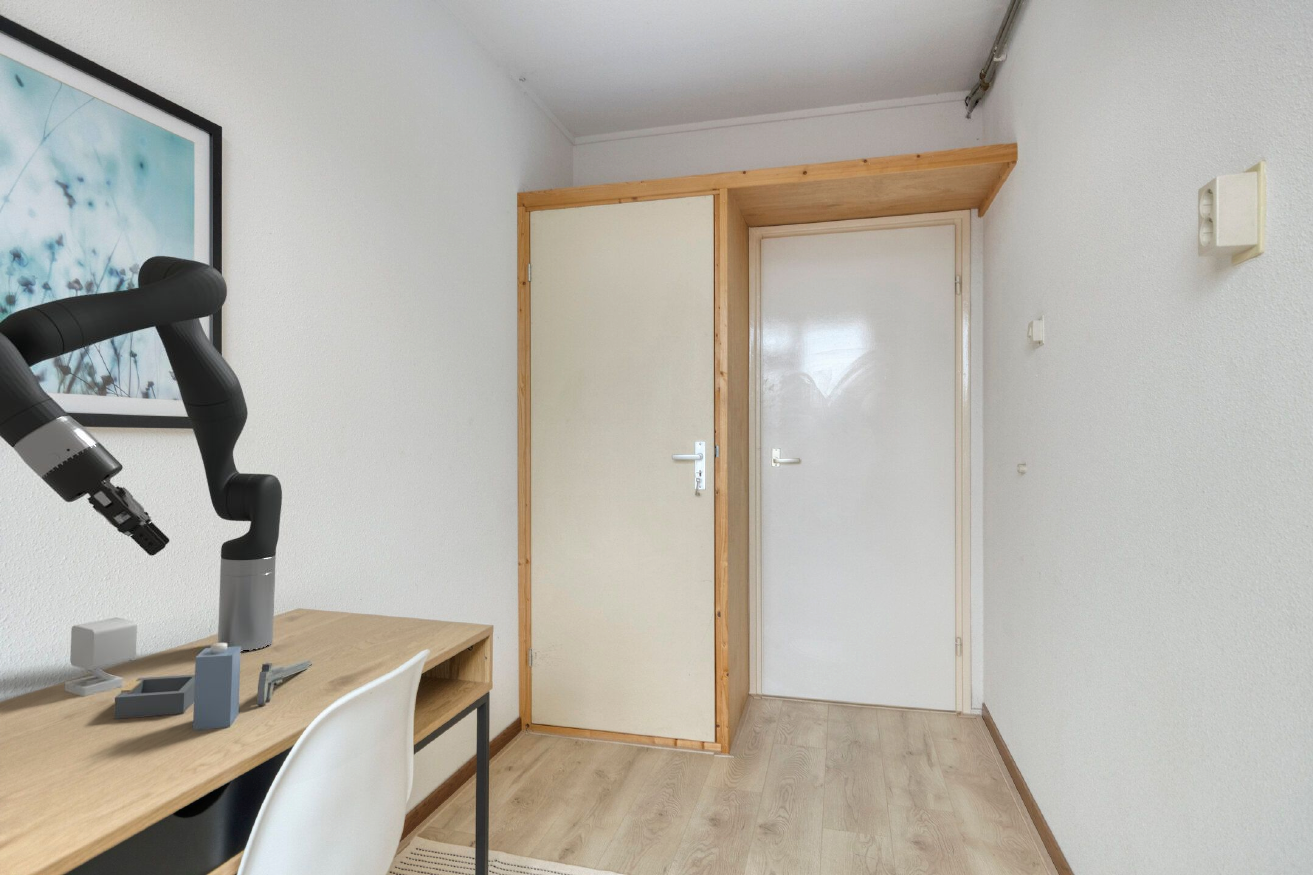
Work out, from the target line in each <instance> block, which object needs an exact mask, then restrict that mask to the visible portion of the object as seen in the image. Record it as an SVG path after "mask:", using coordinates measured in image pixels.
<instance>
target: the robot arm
mask: <svg viewBox="0 0 1313 875" xmlns="http://www.w3.org/2000/svg"><path fill="white" fill-rule="evenodd" d="M223 276H224V275H222V274H221V272H219V271H218V270H217V269H216V268H215V267H214V266H211V265H209V264H206V263H204V262H200V261H197V260H191V259H186V258H180V257H174V256H168V255H167V256H165V255H155V256H152V257H150V258H148V259H146V260H145V261H144V262H143V263H142V265H141V266H140V267H139V271H138V275H137V286H138V287H135V288H129V289H122V290H117V291H109V292H102V293H101V292H99V293H87V294H82V295H81V294H80V295H75V296H69V297H65V298H60V299H56V300H51V301H48V302H45V303H44V302H43V303H41V304H38V305H33V306H31V307H28V308H24V309H20V310H18V311H15V312H13V313H11V314H9V315H7V316H5V318H4V319H2V320H1V321H0V437H1V439H3V440H4V441H5V442H6V443H7V444H8V445H9V446H10V447H11V448H13V450H14V451H15V452H16V454H18V455H19V457H20V458H21V459H22V462H24V463H25V464H26V466H28V467H29V468H30V469H31V470H32V471H33V472H34V473H35V474H36V475H37V476H39V477H40V479H42V481H43V482H45V484H46V485H48V486H49V487H50V488H51V489H52V490H53V491H54V492H55V493H56V494H57V495H58V496H60V497H61V498H62V499H63V501H65V502H66V503H72V502H75V501H77V500H79V499H82V497H84V496H86V495H88V496H89V497H87V500H88V503H89V504H90V505H92V508H93V509H94V510H95V511H96V512H97V513H98V514H99V515H101V516H102V517H103V518H105V519H106V521H107V522H108V524H110V526H113V527H114V528H116V530H117V531H118V533H121V534H123V535H124V536H127V537H130V538H131V539H132V540H133V541H134V542H135V543H136V544H137V545H138V546H139V547H140V548H141V549H143V551H145V553H146V554H148V555H149V556H152V557H153V556H155V555H157V554H158V553H160V552H161V551H162V550H164V549H165V548H166V546H167V545H168V544H169V543H170V538H169V537H168V536H167V535H166V534H165V533H164V532H163V531H162V530H161V529H160V528H159V527H158V526H157V525H156V524H154V522H152V518H151V516H150V515H149V514H150V513H149V512H148V511H145V508H144V507H143V505H142V504H141V503H139V502H138V500H136V499H135V498H134V496H133V495H132V493H131V492H130V491H129V490H128V489H127V488H126V487H124V486H122V487H121V486H119V485H117V486H115V485H114V484H113V483H111V479H112V478H114V477H115V476H116V475H119V473H120V472H122V470H123V468H124V467H123V465H122V463H121V462H120V461H119V460H118V459H117V458H116V457H115V456H114V455H113V454H112V453H111V452H110V451H109V450H107V448H106V447H105V446H104V445H103V444H102V443H100V441H99V440H98V439H97V438H96V437H95V436H93V434H92V433H91V432H89V431H88V430H87V428H85V427H84V426H83V425H82V424H80V423H79V422H78V421H77V420H75V419H74V418H73V417H72V416H71V415H69V413H68V412H66V411H65V409H63V408H62V406H60V405H59V404H58V403H57V401H55V399H53V398H52V397H51V396H50V394H48V393H47V392H46V391H45V390H44V389H43V388H42V386H41V384H40V382H39V381H38V379H37V377H36V375H35V373H34V372H33V370H32V369H31V367H32V366H34V365H37V364H40V363H42V362H43V361H47V360H51V359H54V358H58V357H60V356H63V355H66V354H69V353H72V352H75V351H77V350H81V349H83V348H86V347H89V346H92V345H95V344H99V343H101V342H104V341H107V340H110V339H113V338H117V337H120V336H123V335H127V334H130V333H133V332H138V331H142V330H146V329H151V328H155V329H156V332H157V334H158V336H159V338H160V340H161V343H162V345H163V347H164V351H165V354H166V356H167V358H168V361H169V364H170V366H171V370H172V372H173V373H172V374H173V376H174V378H175V381H176V384H177V386H178V389H179V393H180V397H181V400H182V403H183V407H184V410H185V412H186V415H187V418H188V420H189V423H190V425H191V428H192V430H193V434H194V437H195V439H196V443H197V446H198V449H199V452H200V456H201V460H202V465H203V467H204V473H205V478H206V482H207V487H208V492H209V497H210V499H211V500H210V501H211V504H212V507H213V508H214V511H215V513H216V515H217V516H218V517H219V518H221V519H222V520H226V521H232V522H234V521H235V522H250V525H249V529H248V532H246V533H245V534H243V535H241V536H238V537H235V538H232V539H230V540H226V541H224V542H223V543H222V544H221V548H220V570H219V571H220V575H219V576H220V577H219V598H218V600H219V603H218V605H219V606H218V624H217V625H218V626H217V628H218V630H217V643H227V647H236V646H241V650H249V651H254V650H253V649H256V648H260V649H263V647H264V648H266V646H267V645H269V646H271V645H272V644H273V643H272V642H273V641H274V640H273V638H274V618H275V617H274V616H275V615H274V614H275V613H274V612H275V592H276V590H275V588H276V559H277V558H276V557H277V556H276V555H277V545H278V541H279V536H280V525H281V524H280V523H281V515H282V514H281V513H282V505H283V504H282V503H283V502H282V501H283V500H282V499H283V489H282V484H281V481H280V480H279V478H278V477H277V476H276V475H273V474H267V473H246V472H245V473H241V472H239V471H238V469H237V467H236V463H235V460H234V449H235V446H236V444H237V441H238V440H239V438H240V436H241V434H242V432H243V430H244V427H245V426H246V422H247V421H248V420H247V418H248V406H247V403H246V398H245V396H244V391H243V389H242V384H241V382H240V380H239V378H238V377H237V376H238V375H237V374H236V373H235V371H234V370H233V369H232V367H231V365H229V363H228V362H227V361H226V359H225V358H224V357H223V356H222V354H221V353H220V352H219V351H218V350H217V349H216V348H215V346H214V345H213V343H212V342H211V341H210V339H209V338H208V336H207V335H206V331H205V330H204V328H203V326H202V323H201V320H200V319H201V318H206V317H209V316H212V315H214V314H216V313H217V312H218V311H219V310H221V308H222V307H223V306H224V305H225V302H226V299H227V295H228V287H227V283H226V280H225V278H224V277H223ZM270 644H271V645H270ZM267 647H268V646H267ZM256 650H257V649H256Z"/></svg>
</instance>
